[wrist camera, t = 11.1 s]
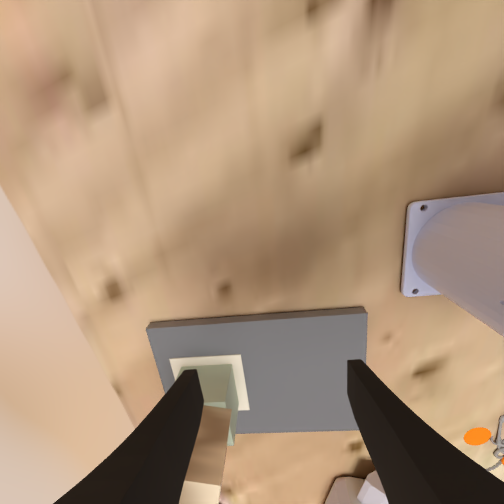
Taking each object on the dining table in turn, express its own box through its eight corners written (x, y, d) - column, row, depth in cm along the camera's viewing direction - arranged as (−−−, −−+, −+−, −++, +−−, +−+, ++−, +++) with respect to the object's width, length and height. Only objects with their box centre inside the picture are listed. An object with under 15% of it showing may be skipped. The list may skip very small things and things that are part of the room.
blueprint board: (363, 306, 21) (368, 313, 20) (360, 420, 26) (364, 430, 25) (150, 322, 23) (145, 329, 22) (180, 426, 28) (177, 436, 27)
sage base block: (231, 363, 23) (225, 401, 19) (238, 403, 24) (233, 445, 21) (181, 366, 23) (165, 404, 20) (191, 405, 25) (178, 446, 21)
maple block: (231, 409, 19) (220, 485, 15) (226, 450, 21) (214, 532, 16) (170, 400, 19) (139, 474, 15) (170, 442, 21) (142, 521, 16)
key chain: (467, 408, 25) (473, 416, 24) (542, 410, 24) (552, 418, 24) (441, 487, 29) (445, 496, 28) (505, 490, 28) (512, 499, 28)
